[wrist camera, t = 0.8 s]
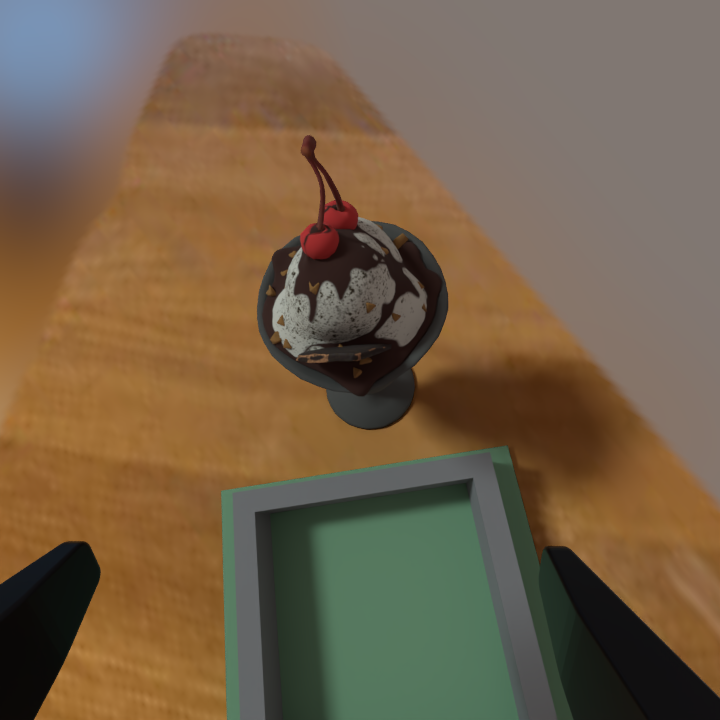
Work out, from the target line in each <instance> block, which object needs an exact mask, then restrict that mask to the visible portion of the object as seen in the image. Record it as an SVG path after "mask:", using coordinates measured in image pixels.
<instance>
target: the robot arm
mask: <svg viewBox="0 0 720 720" xmlns="http://www.w3.org/2000/svg"><path fill="white" fill-rule="evenodd" d="M100 573H101V572H100V567H99V564H98V562H97V560H96V558H95V556H94V554H93V551H92V549H91V547H90V545H89V544H88V543H87V542H84V541H68V542H64V543H62V544H60V545H59V546H57V547H56V548H54V549H53V550H51V551H50V552H48V553H47V554H45V555H44V556H42V557H41V558H39V559H38V560H36V561H35V562H33V563H32V564H30V565H29V566H27V567H26V568H24V569H23V570H21V571H20V572H18V573H17V574H15V575H14V576H12V577H11V578H9V579H8V580H6V581H5V582H3V583H2V584H0V720H34V719H35V717H36V715H37V713H38V711H39V709H40V707H41V706H42V704H43V702H44V700H45V698H46V696H47V694H48V692H49V690H50V688H51V687H52V685H53V683H54V681H55V679H56V677H57V675H58V673H59V671H60V669H61V667H62V665H63V663H64V661H65V659H66V657H67V655H68V652H69V650H70V648H71V646H72V643H73V641H74V639H75V636H76V634H77V632H78V629H79V627H80V625H81V622H82V620H83V618H84V615H85V613H86V611H87V608H88V606H89V604H90V601H91V599H92V597H93V594H94V592H95V589H96V587H97V585H98V582H99V579H100ZM538 581H539V589H540V594H541V598H542V602H543V607H544V611H545V616H546V620H547V624H548V629H549V633H550V638H551V642H552V646H553V651H554V655H555V659H556V664H557V668H558V672H559V676H560V680H561V683H562V686H563V690H564V693H565V696H566V699H567V702H568V705H569V708H570V711H571V714H572V717H573V720H720V698H719V697H718V696H717V695H716V694H715V693H714V692H713V691H712V690H711V689H710V688H709V687H708V686H707V685H706V684H705V683H704V682H703V681H702V680H701V679H700V678H699V677H698V676H697V675H696V674H695V673H694V672H693V671H692V670H691V669H690V668H689V667H688V666H687V665H686V664H685V663H684V662H683V661H682V660H681V659H680V658H679V657H678V656H677V655H676V654H675V653H674V652H673V651H672V650H671V649H670V648H669V647H668V646H667V645H666V644H665V643H664V642H663V641H662V640H661V639H660V638H659V637H658V636H657V635H656V634H655V633H654V632H653V631H652V630H651V629H650V628H649V627H648V626H647V625H646V624H645V623H644V622H643V621H642V620H641V619H640V618H639V617H638V616H637V615H636V614H635V613H634V612H633V611H632V610H631V609H630V608H629V607H628V606H627V605H626V604H625V603H624V602H623V601H622V600H621V599H620V598H619V597H618V596H617V595H616V594H615V593H614V592H613V591H612V590H611V589H610V588H609V587H608V586H607V585H606V584H605V583H604V582H603V581H602V580H601V579H600V578H599V577H598V576H597V575H596V574H595V573H594V572H593V571H592V570H591V569H590V568H589V567H588V566H587V565H586V564H585V563H584V562H583V561H582V560H581V559H580V558H579V557H578V556H577V555H576V554H575V553H574V552H573V551H572V550H571V549H569V548H568V547H564V546H547V547H545V548H544V549H543V553H542V558H541V564H540V570H539V576H538Z"/></svg>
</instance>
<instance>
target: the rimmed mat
mask: <svg viewBox="0 0 720 720" xmlns="http://www.w3.org/2000/svg"><path fill="white" fill-rule="evenodd" d="M221 497H222V538H223V578H224V619H225V660H226V701H227V720H573V717H572V714H571V711H570V708H569V705H568V702H567V699H566V696H565V693H564V690H563V686H562V683H561V680H560V676H559V672H558V668H557V664H556V659H555V655H554V651H553V646H552V642H551V638H550V633H549V629H548V624H547V620H546V616H545V611H544V607H543V602H542V598H541V594H540V589H539V581H538V576H539V570H540V565H539V561H538V557H537V553H536V550H535V546H534V542H533V539H532V535H531V531H530V527H529V524H528V520H527V516H526V512H525V509H524V505H523V501H522V498H521V494H520V490H519V486H518V483H517V479H516V475H515V471H514V468H513V464H512V460H511V456H510V453H509V449H508V445H507V446H501V447H494V448H488V449H482V450H476V451H469V452H463V453H457V454H450V455H444V456H438V457H431V458H425V459H419V460H413V461H406V462H400V463H394V464H387V465H381V466H375V467H369V468H362V469H356V470H350V471H343V472H337V473H331V474H325V475H318V476H312V477H306V478H299V479H293V480H287V481H281V482H274V483H268V484H262V485H255V486H249V487H243V488H236V489H230V490H224V491H221Z"/></svg>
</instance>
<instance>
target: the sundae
mask: <svg viewBox="0 0 720 720" xmlns="http://www.w3.org/2000/svg"><path fill="white" fill-rule="evenodd" d="M315 148H316V141H315V139H314V137H312V136H310V135H307V136H306V137H305V138H304V140H303V144H302V147H301V153H302V155H303V156H305V157H306V159H307V160H308V162H309V163H310V164H311V166H312V168H313V170H314V172H315V174H316V176H317V178H318V182H319V185H320V196H321V200H320V208H319V216H318V222H317V223H315V224H310V225H309V226H308V227H307V228H306V229H305V230H304V231H303V232H302V233H301V235H300V236H297V237H295V238H294V239H292V240H291V241H290V242H289V243H288V244H287V245H285V246H284V247H283V248H282V249H279V250H277V251H276V252H275V253H274V254H273V256H272V261H271V262H270V264H269V266H268V269H267V271H266V273H265V275H264V277H263V280H262V284H261V287H260V290H259V296H258V305H257V320H258V327H259V332H260V334H261V337H262V339H263V341H264V343H265V345H266V347H267V348H268V350H269V351H270V353H271V355H272V356H273V357H274V358H275V359H276V360H277V361H278V362H279V363H280V364H282V365H283V366H284V367H285V368H286V369H288V370H289V371H290V372H292V373H293V374H295V375H296V376H297V377H299V378H300V379H302V380H305V381H307V382H309V383H312V384H314V385H316V386H319V387H322V388H325V389H326V391H327V398H328V401H329V403H330V405H331V407H332V409H333V410H334V412H335V414H336V415H338V416H339V417H340V418H341V419H342V420H343V421H345V422H346V423H348V424H349V425H352V426H355V427H358V428H363V429H376V428H382V427H385V426H387V425H389V424H391V423H393V422H395V421H396V420H398V419H399V418H400V417H401V416H402V415H403V414H404V413H405V412H406V410H407V409H408V407H409V406H410V404H411V401H412V398H413V395H414V390H415V385H414V377H413V372H412V370H411V368H412V367H413V366H415V365H416V364H417V362H418V361H419V360H420V359H421V358H422V357H423V356H424V355H425V354H426V353H427V351H428V350H429V349H430V347H431V346H432V345H433V343H434V342H435V341H436V339H437V338H438V337H439V335H440V332H441V330H442V327H443V325H444V322H445V319H446V315H447V311H448V292H447V287H446V282H445V279H444V276H443V273H442V271H441V268H440V266H439V265H438V263H437V261H436V260H435V258H434V256H433V255H432V253H431V252H430V251H429V250H428V248H427V247H426V246H425V244H424V243H423V242H422V241H421V240H419V239H418V238H416V237H415V236H414V235H412V234H411V233H410V232H408V231H406V230H404V229H402V228H400V227H398V226H396V225H394V224H388V223H383V222H375V221H369V220H366V219H364V218H360V217H358V213H357V211H356V209H355V208H354V207H353V206H352V205H351V204H349V203H348V202H346V201H343V200H341V197H340V194H339V192H338V190H337V188H336V186H335V184H334V183H333V181H332V179H331V177H330V176H329V174H328V173H327V171H326V170H325V169H324V167H323V166H322V165H321V164H320V163H319V162H318V161H317V159H316V158H315V154H314V150H315ZM316 166H317V167H318V169H319V170H320V171H321V172H322V173H323V175H324V177H325V179H326V181H327V183H328V185H329V187H330V189H331V191H332V193H333V196H334V198H335V200H334V201H331V202H329V203H327V204H325V189H324V184H323V181H322V177H321V175H320V173H319V171H318V169H317V167H316Z"/></svg>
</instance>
